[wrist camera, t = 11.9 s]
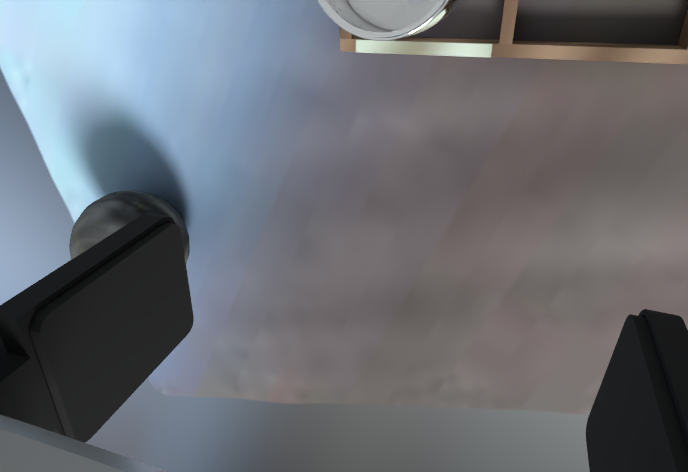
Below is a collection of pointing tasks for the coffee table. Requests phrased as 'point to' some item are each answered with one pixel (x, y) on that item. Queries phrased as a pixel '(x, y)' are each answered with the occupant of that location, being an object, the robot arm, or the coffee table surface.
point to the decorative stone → (119, 218)
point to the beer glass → (387, 16)
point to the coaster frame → (523, 46)
